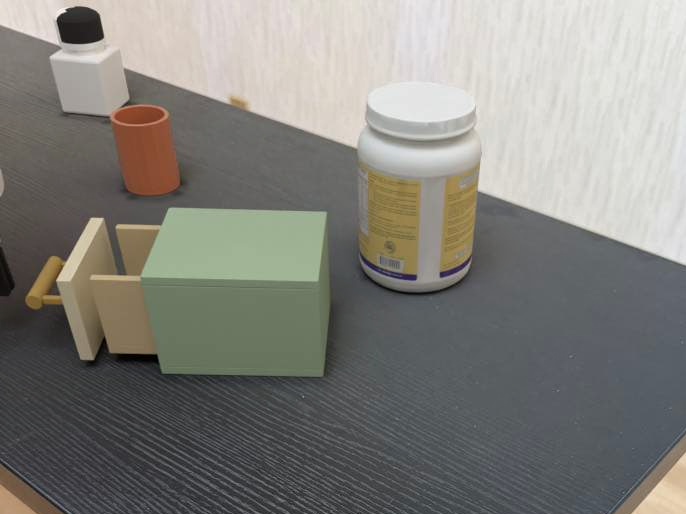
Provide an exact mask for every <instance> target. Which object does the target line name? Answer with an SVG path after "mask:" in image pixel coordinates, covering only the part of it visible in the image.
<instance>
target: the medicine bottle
mask: <svg viewBox="0 0 686 514" xmlns="http://www.w3.org/2000/svg"><path fill="white" fill-rule="evenodd" d="M52 20H53V24H54V28H55V31H56V35H57V39H58V44H59V47H60V48H61V49H59V50H58V51H55V52H54V53H53V54H51V55H50V56H49V62H50V66H51V70H52V74H53V79H54V82H55V86H56V89H57V93H58V98H59V101H60V105H61V107H62V108H61V109H62V112H64V113H65V114H67V113H68V114H75V115H76V114H77V115H85V116H95V117H107V118H110V115H111V113H112V112H114V111H115V110H117V109H119V108H123V107H124V105H125V104H126V103H128V102H129V101H130V93H129V90H128V84H127V80H126V79H127V78H126V74H125V70H124V65H123V60H122V59H123V58H122V55H121V48H120V47H119V46H118V45H111V44H106V38H105V33H104V28H103V24H102V19H101V15H100V13H99V12H98V11H97V10H95V9H93V8H91V7H88V6H82V5H74V6H66V7H62V8H59V9H58V10H57V11H55V12H54V13H53V16H52Z"/></svg>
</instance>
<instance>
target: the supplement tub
mask: <svg viewBox="0 0 686 514" xmlns="http://www.w3.org/2000/svg"><path fill="white" fill-rule="evenodd" d="M365 105H366V106H365V107H366V108H365V109H366V111H365V113H364V120H365V122H366V125H365V126H364V127H363V129H362V130H361V131H360V134H359V136H358V138H357V139H358V140H357V146H356V152H357V191H358V192H357V195H358V197H357V198H358V201H357V202H358V257H359V261H360V264H361V267H362V269H363V270H364V273H365V274H366V275H367V276H368V277H369V278H370V279H371V280H372V281H374V282H375V283H377V284H378V285H380V286H382V287H385V288H388V289H391V290H393V291H397V292H403V293H404V292H405V293H429V292H436V291H440V290H443V289H446V288H449V287H451V286H453V285H455V284H456V283H458V282H460V281H461V280H462V279H463V278H464V277H465V276H466V274H467V273H468V272H469V270H470V267H471V264H472V260H473V245H474V233H475V223H476V222H475V221H476V213H477V201H478V200H477V199H478V190H479V180H480V171H481V161H482V160H481V159H482V153H483V152H482V141H481V138H480V136H479V134H478V132H477V130H476V129H475V127H476V125H477V121H478V118H477V115H476V114H477V100H476V99H475V96H473V95H472V94H470V93H469V92H468V91H466V90H464V89H462V88H459V87H456V86H454V85H449V84H446V83H445V84H444V83H440V82H433V81H402V82H401V81H400V82H394V83H393V82H392V83H389V84H386V85H385V84H384V85H382V86H379V87H377V88H375V89H373V90H372V91H370V92H369V94H368V95H367V97H366V103H365Z"/></svg>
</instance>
